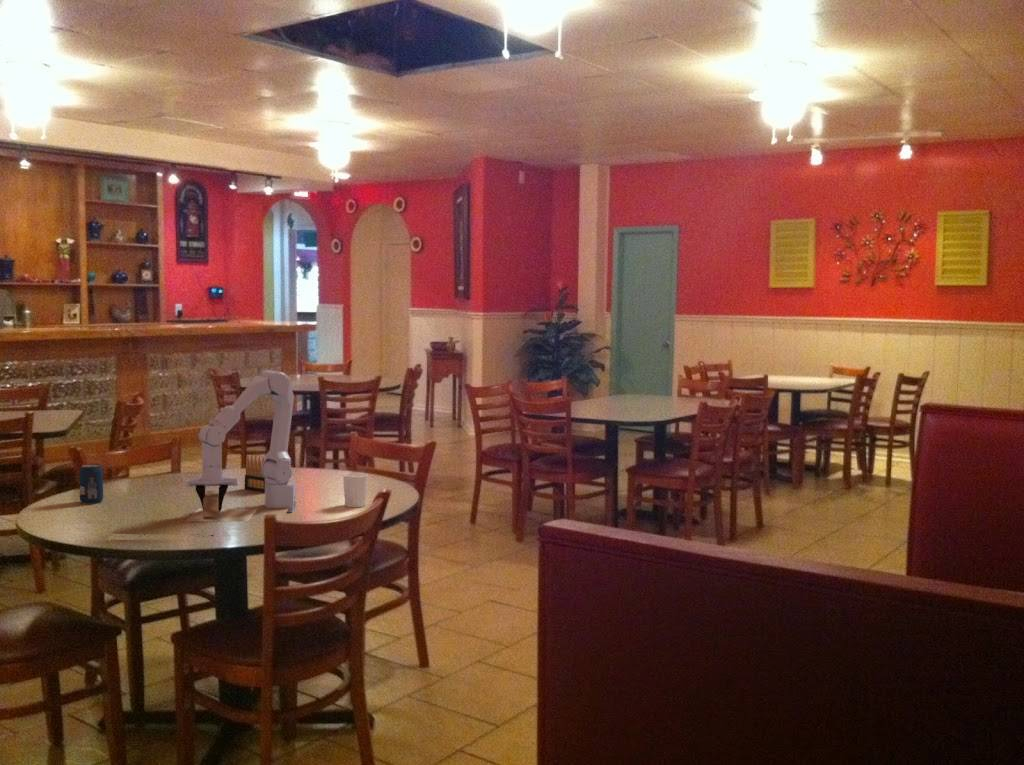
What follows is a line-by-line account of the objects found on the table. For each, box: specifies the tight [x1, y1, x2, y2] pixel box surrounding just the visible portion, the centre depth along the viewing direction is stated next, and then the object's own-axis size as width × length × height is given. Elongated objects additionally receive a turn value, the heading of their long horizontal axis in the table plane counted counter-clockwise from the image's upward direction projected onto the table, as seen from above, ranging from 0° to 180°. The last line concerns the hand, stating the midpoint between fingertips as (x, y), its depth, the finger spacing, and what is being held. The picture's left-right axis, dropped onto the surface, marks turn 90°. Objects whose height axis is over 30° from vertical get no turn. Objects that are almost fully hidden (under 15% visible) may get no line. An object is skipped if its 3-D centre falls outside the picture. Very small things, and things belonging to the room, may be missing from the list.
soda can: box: [78, 463, 104, 505], centre depth 323 cm, size 7×7×12 cm
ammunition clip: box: [244, 454, 265, 494], centre depth 345 cm, size 11×2×12 cm, turn 60°
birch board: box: [185, 508, 258, 522], centre depth 304 cm, size 18×16×2 cm
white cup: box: [342, 472, 369, 508], centre depth 326 cm, size 8×8×10 cm
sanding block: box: [202, 490, 221, 519], centre depth 303 cm, size 4×12×6 cm, turn 12°
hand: (212, 509), depth 303 cm, fingers closed on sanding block, 4 cm apart
